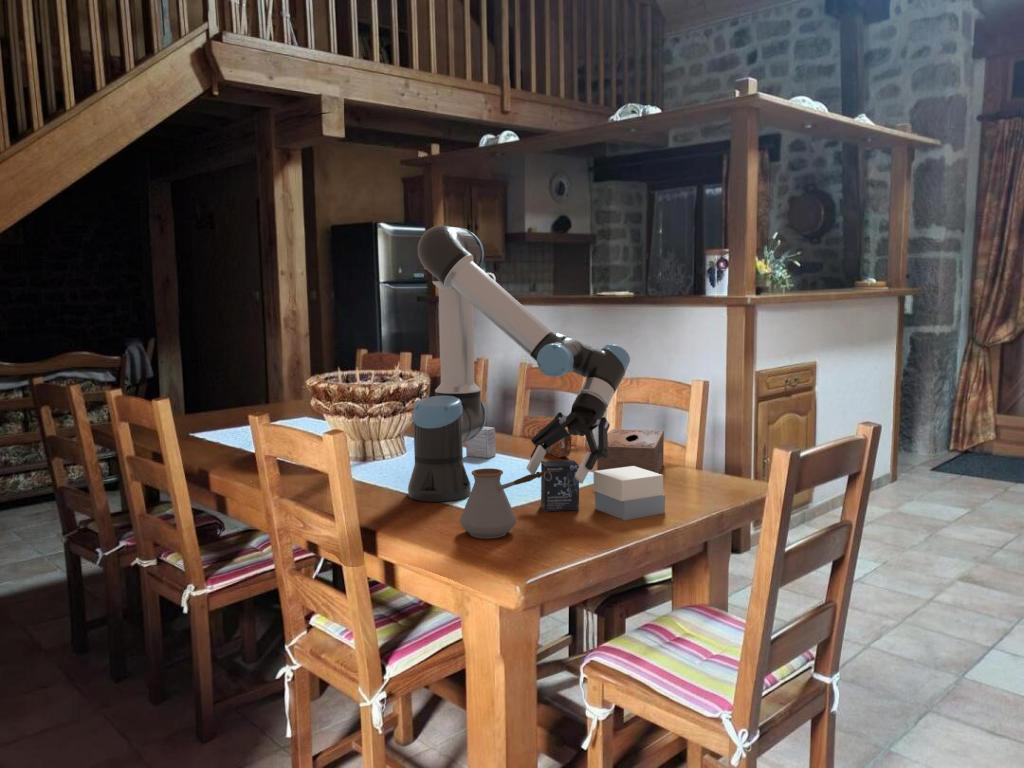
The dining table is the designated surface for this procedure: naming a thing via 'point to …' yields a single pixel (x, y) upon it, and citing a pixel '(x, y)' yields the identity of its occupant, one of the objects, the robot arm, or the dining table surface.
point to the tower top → (628, 483)
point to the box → (559, 486)
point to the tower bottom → (630, 506)
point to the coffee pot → (491, 504)
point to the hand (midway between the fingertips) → (553, 475)
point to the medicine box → (482, 444)
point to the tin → (561, 447)
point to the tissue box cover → (634, 450)
